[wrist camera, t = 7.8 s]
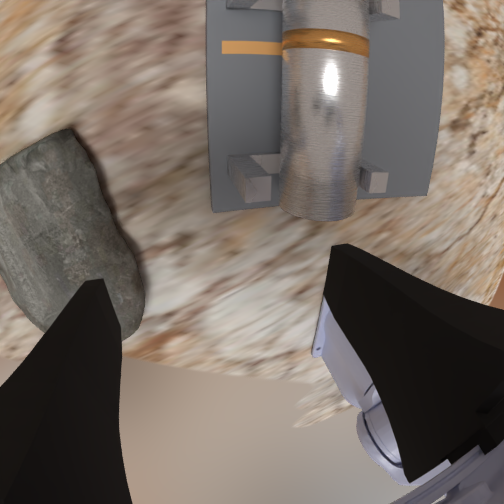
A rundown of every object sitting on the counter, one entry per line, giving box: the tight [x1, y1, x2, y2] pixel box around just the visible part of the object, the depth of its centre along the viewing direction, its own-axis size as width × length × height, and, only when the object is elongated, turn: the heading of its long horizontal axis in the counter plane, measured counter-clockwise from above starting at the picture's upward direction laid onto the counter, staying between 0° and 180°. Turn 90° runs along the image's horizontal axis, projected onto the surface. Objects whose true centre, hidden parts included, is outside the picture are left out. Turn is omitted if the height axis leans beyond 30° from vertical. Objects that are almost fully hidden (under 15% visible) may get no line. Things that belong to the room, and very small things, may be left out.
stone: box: [0, 129, 145, 341], centre depth 16 cm, size 11×4×15 cm
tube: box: [278, 0, 370, 221], centre depth 13 cm, size 14×4×4 cm, turn 0°
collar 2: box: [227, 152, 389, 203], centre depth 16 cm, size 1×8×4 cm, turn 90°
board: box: [206, 0, 444, 213], centre depth 16 cm, size 18×18×1 cm
